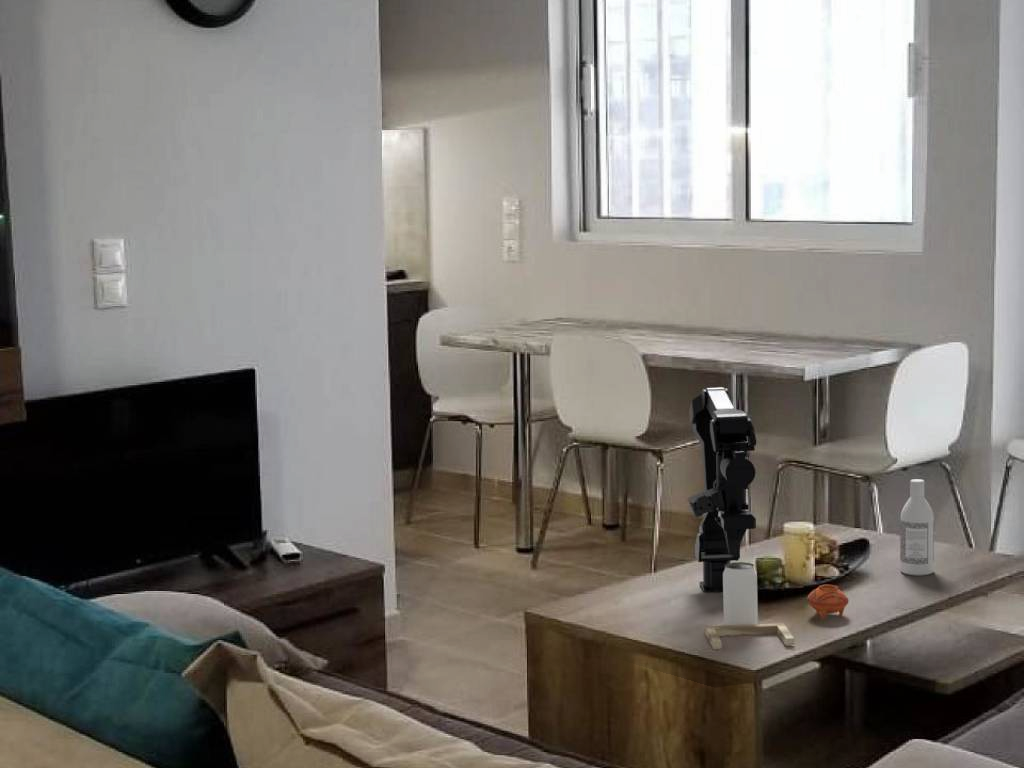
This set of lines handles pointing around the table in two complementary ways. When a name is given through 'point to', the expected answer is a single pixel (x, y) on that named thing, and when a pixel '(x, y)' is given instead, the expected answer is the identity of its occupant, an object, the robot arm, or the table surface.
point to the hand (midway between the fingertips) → (732, 554)
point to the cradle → (747, 632)
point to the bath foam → (917, 533)
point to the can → (740, 594)
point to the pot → (827, 600)
